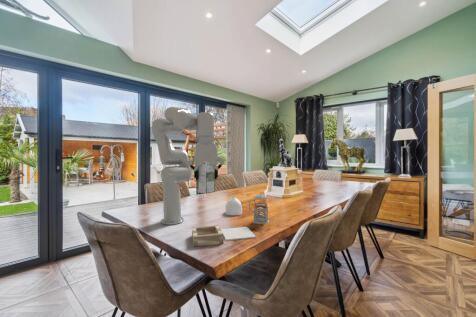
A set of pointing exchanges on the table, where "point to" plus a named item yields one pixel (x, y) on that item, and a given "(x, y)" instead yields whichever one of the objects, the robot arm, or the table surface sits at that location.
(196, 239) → the holder
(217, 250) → the table surface
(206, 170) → the syrup box
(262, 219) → the grey lantern
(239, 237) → the mat
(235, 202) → the teardrop
